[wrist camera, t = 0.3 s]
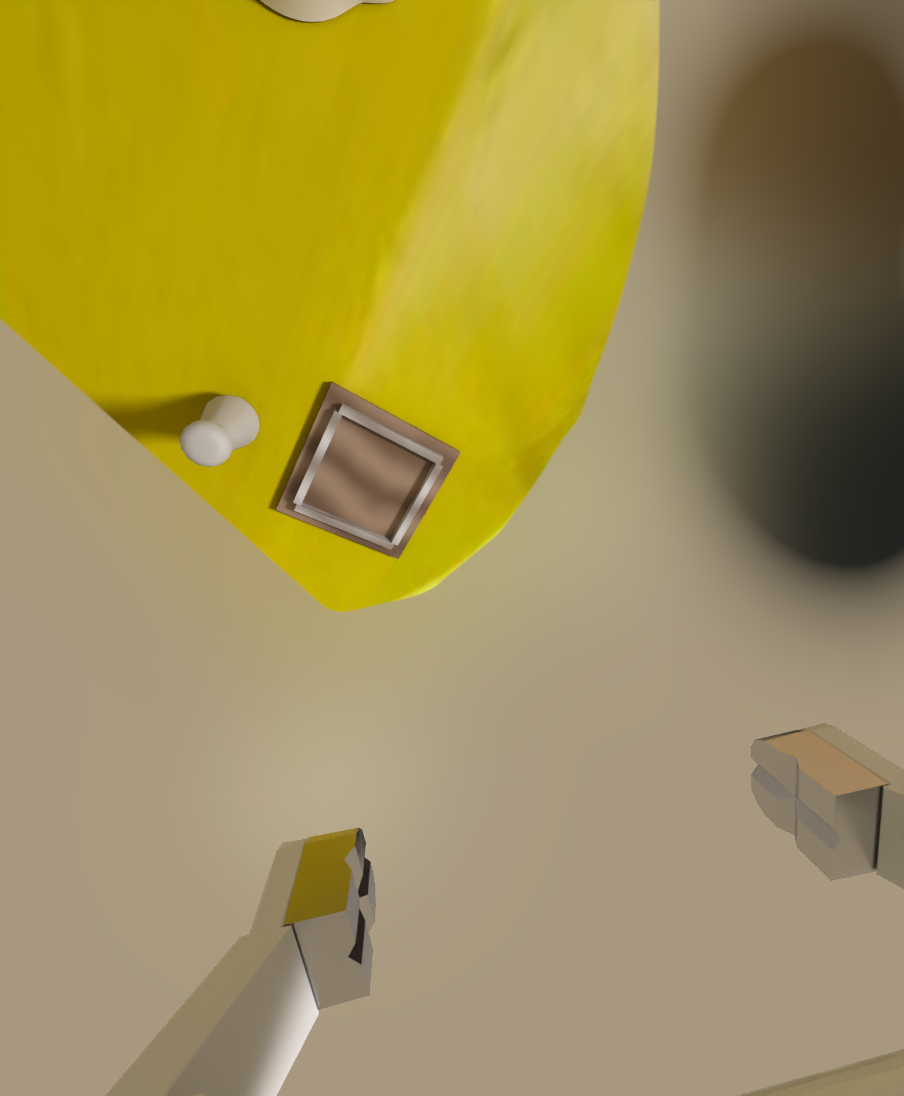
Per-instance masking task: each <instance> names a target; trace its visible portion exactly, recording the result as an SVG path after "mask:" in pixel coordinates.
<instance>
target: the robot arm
mask: <svg viewBox="0 0 904 1096" xmlns="http://www.w3.org/2000/svg"><path fill="white" fill-rule="evenodd" d="M260 1H262V2H263V3H264V4H266V5H267V6H269V7H270V8H271V9H273V10H275V11H277V12H278V13H280V14H282V15H285V16H287V17H290V18H293V19H296V20H301V21H308V22H318V21H325V20H329V19H332V18H334V17H337V16H339V15H341V14H342V13H344V12H345V11H347V10H349V9H350V8H352V7H353V6H355V5H357V4H360V3H363V2H365V3H388V2H391V1H393V0H260ZM751 757H752V758H753V759H754V761H755V762H756V763H757V764H758V765H757V767H756V768H755V770H754V771H753V773H752V775H751V785H752V791H753V793H754V796H755V798H756V801H757V803H758V805H759V806H760V808H761V809H762V811H763V812H764V813H765V815H766V816H767V817H768V818H769V819H770V820H771V821H772V822H773V823H774V824H775V825H776V826H777V827H778V828H780V829H783V830H785V831H787V832H789V833H791V834H793V835H795V840H796V843H797V847H798V848H799V849H800V850H801V851H802V852H803V853H804V854H805V855H806V856H807V857H808V858H809V859H810V860H811V861H812V862H813V863H814V864H815V865H816V866H817V867H818V868H819V869H820V870H821V871H822V872H823V873H824V874H825V875H826V876H827V877H828V878H829V879H830V880H836V879H841V878H846V877H850V876H855V875H860V874H865V873H869V872H874V871H877V875H879V876H881V877H883V878H885V879H887V880H888V881H890V882H892V883H894V884H896V885H897V886H899V887H901V888H903V889H904V770H903V769H901V768H900V767H898V766H897V765H895V764H893V763H892V762H890V761H889V760H887V759H885V758H884V757H882V756H881V755H879V754H877V753H876V752H874V751H873V750H871V749H869V748H868V747H866V746H865V745H863V744H861V743H860V742H858V741H857V740H855V739H853V738H852V737H850V736H849V735H847V734H845V733H844V732H842V731H841V730H839V729H837V728H836V727H834V726H831V725H827V724H819V725H816V726H811V727H807V728H803V729H800V730H795V731H791V732H786V733H782V734H778V735H773V736H769V737H765V738H761V739H756V740H754V742H753V744H752V746H751ZM365 847H366V842H365V838H364V835H363V831H362V829H360V828H355V829H350V830H344V831H339V832H334V833H329V834H324V835H318V836H313V837H309V838H307V839H302V840H297V841H291V842H285V843H282V844H281V846H280V847H279V849H278V850H277V852H276V855H275V858H274V861H273V864H272V867H271V870H270V873H269V876H268V879H267V882H266V885H265V888H264V891H263V894H262V897H261V900H260V903H259V906H258V909H257V912H256V915H255V918H254V921H253V924H252V927H251V930H250V933H249V935H247V936H243V937H240V938H239V939H238V940H237V941H236V943H235V944H234V945H233V946H232V947H231V948H230V950H229V951H228V952H227V953H226V954H225V956H224V957H223V958H222V959H221V960H220V961H219V963H218V964H217V965H216V966H215V967H214V969H213V970H212V971H211V972H210V973H209V974H208V976H207V977H206V978H205V979H204V980H203V981H202V983H201V984H200V985H199V986H198V987H197V989H196V990H195V991H194V992H193V993H192V994H191V996H190V997H189V998H188V999H187V1000H186V1001H185V1003H184V1004H183V1005H182V1006H181V1007H180V1008H179V1010H178V1011H177V1012H176V1013H175V1014H174V1016H173V1017H172V1018H171V1019H170V1020H169V1022H168V1023H167V1024H166V1025H165V1026H164V1028H163V1029H162V1030H161V1031H160V1032H159V1033H158V1034H157V1036H156V1037H155V1038H154V1039H153V1040H152V1042H151V1043H150V1044H149V1045H148V1046H147V1047H146V1049H145V1050H144V1051H143V1052H142V1053H141V1054H140V1056H139V1057H138V1058H137V1059H136V1060H135V1061H134V1063H133V1064H132V1065H131V1066H130V1067H129V1069H128V1070H127V1071H126V1072H125V1073H124V1074H123V1076H122V1077H121V1078H120V1079H119V1080H118V1082H117V1083H116V1084H115V1085H114V1086H113V1087H112V1089H111V1090H110V1091H109V1092H108V1093H107V1094H106V1096H276V1095H277V1094H278V1092H279V1090H280V1088H281V1086H282V1084H283V1082H284V1080H285V1078H286V1076H287V1074H288V1072H289V1070H290V1068H291V1066H292V1064H293V1063H294V1061H295V1059H296V1057H297V1055H298V1053H299V1051H300V1049H301V1047H302V1045H303V1043H304V1041H305V1039H306V1037H307V1035H308V1033H309V1032H310V1030H311V1028H312V1026H313V1024H314V1022H315V1020H316V1018H317V1016H318V1014H319V1012H318V1009H322V1008H325V1007H329V1006H333V1005H336V1004H340V1003H343V1002H346V1001H350V1000H354V999H357V998H360V997H364V996H367V995H370V981H371V967H372V954H373V948H372V944H371V940H370V936H369V933H368V932H369V930H370V929H371V927H372V926H373V924H374V922H375V907H376V901H375V882H374V876H373V870H372V866H371V862H370V861H369V860H368V859H366V858H365ZM737 1096H904V1049H902V1050H898V1051H895V1052H891V1053H888V1054H884V1055H880V1056H877V1057H874V1058H870V1059H866V1060H862V1061H859V1062H856V1063H852V1064H848V1065H845V1066H841V1067H837V1068H834V1069H830V1070H827V1071H823V1072H819V1073H816V1074H812V1075H809V1076H805V1077H802V1078H798V1079H794V1080H791V1081H787V1082H784V1083H780V1084H776V1085H773V1086H769V1087H766V1088H762V1089H759V1090H755V1091H751V1092H748V1093H744V1094H741V1095H737Z"/></svg>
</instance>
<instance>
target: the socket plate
mask: <svg viewBox="0 0 904 1096" xmlns="http://www.w3.org/2000/svg"><path fill="white" fill-rule="evenodd" d="M459 454H460V452H459V450H457V449H455V448H453V447H451V446H449V445H448V444H446V443H444V442H442V441H440V440H438V439H436V438H435V437H433V436H431V435H429V434H427V433H425V432H424V431H422V430H420V429H418V428H416V427H414V426H413V425H411V424H409V423H407V422H405V421H403V420H402V419H400V418H398V417H396V416H394V415H392V414H390V413H389V412H387V411H385V410H383V409H381V408H379V407H378V406H376V405H374V404H372V403H370V402H368V401H367V400H365V399H363V398H361V397H359V396H357V395H356V394H354V393H352V392H350V391H348V390H346V389H344V388H343V387H341V386H339V385H337V384H335V383H333V382H332V383H331V385H330V387H329V390H328V392H327V394H326V396H325V399H324V401H323V403H322V406H321V408H320V410H319V412H318V415H317V417H316V419H315V422H314V424H313V426H312V428H311V431H310V433H309V435H308V438H307V440H306V442H305V444H304V447H303V449H302V451H301V454H300V456H299V458H298V460H297V463H296V465H295V467H294V470H293V472H292V474H291V476H290V479H289V481H288V483H287V486H286V488H285V490H284V492H283V495H282V497H281V499H280V501H279V504H278V506H277V508H276V510H277V511H279V512H282V513H284V514H287V515H289V516H292V517H294V518H297V519H299V520H302V521H304V522H307V523H309V524H312V525H314V526H317V527H319V528H322V529H324V530H327V531H329V532H332V533H334V534H337V535H339V536H342V537H344V538H347V539H349V540H352V541H354V542H357V543H359V544H362V545H364V546H367V547H369V548H372V549H374V550H377V551H379V552H382V553H384V554H387V555H389V556H392V557H394V558H397V559H399V557H400V555H401V554H402V552H403V550H404V549H405V547H406V545H407V543H408V542H409V540H410V538H411V537H412V535H413V533H414V531H415V530H416V528H417V526H418V525H419V523H420V521H421V519H422V518H423V516H424V514H425V513H426V511H427V509H428V508H429V506H430V504H431V502H432V501H433V499H434V497H435V496H436V494H437V492H438V490H439V489H440V487H441V485H442V484H443V482H444V480H445V478H446V477H447V475H448V473H449V472H450V470H451V468H452V466H453V465H454V463H455V461H456V460H457V458H458V456H459Z"/></svg>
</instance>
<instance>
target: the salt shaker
mask: <svg viewBox="0 0 904 1096" xmlns="http://www.w3.org/2000/svg"><path fill="white" fill-rule="evenodd" d="M258 431H259V419H258V416H257V414H256V412H255V410H254V409H253V407H252V406H251V405H250V404H248V403H247V402H246V401H245V400H243V399H242V398H239V397H236V396H232V395H224V396H217V397H215V398H214V399H212V400H211V401H209V402H208V403H207V404H206V407H205V409H204V411H203V413H202V416H201V418H200V420H198V421H194V422H192V423H191V424H189V425H188V426H186V427H185V428H184V430H183V432H182V435H181V438H180V443H181V449H182V451H183V452H184V453H185V455H186V456H187V458H189V459H190V460H191V461H193V462H194V463H196V464H197V465H202V466H206V467H211V466H218V465H220V464H222V463H223V462H224V461H226V460H227V459H228V458H229V456H230V454H231V452H232V450H235V449H238V448H241V447H243V446H246V445H248V444H249V443H250V442H252V441H253V440H254V439H255V438H256V435H257V433H258Z"/></svg>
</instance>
